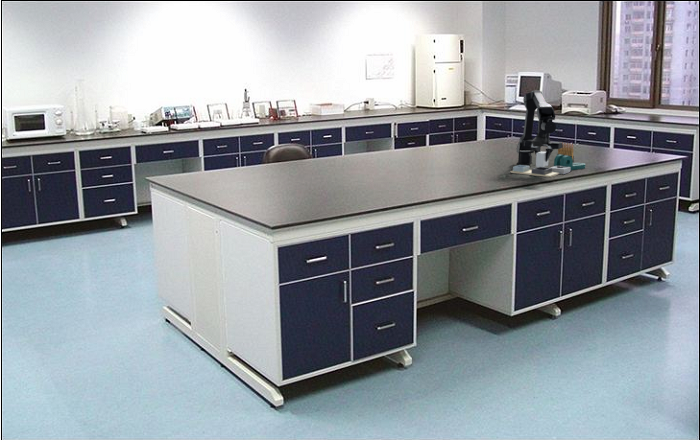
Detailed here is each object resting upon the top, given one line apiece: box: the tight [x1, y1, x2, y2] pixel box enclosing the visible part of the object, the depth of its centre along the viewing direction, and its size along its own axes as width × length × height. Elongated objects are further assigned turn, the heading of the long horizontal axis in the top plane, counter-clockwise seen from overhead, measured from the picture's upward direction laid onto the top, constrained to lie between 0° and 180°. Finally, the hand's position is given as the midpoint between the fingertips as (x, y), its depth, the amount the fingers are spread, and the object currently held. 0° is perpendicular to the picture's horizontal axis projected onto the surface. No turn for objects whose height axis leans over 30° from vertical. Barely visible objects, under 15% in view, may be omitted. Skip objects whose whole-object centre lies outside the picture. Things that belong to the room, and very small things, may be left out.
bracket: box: [553, 154, 586, 171], centre depth 383 cm, size 18×7×8 cm, turn 118°
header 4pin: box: [531, 166, 552, 175], centre depth 368 cm, size 7×9×2 cm
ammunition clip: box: [556, 141, 575, 163], centre depth 398 cm, size 11×2×12 cm, turn 32°
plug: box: [535, 150, 550, 168], centre depth 367 cm, size 4×7×7 cm, turn 140°
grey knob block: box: [550, 165, 572, 175], centre depth 374 cm, size 8×8×3 cm
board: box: [510, 169, 559, 178], centre depth 371 cm, size 22×10×1 cm, turn 50°
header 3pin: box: [512, 164, 531, 172], centre depth 376 cm, size 6×7×2 cm
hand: (542, 161), depth 367 cm, fingers closed on plug, 4 cm apart
